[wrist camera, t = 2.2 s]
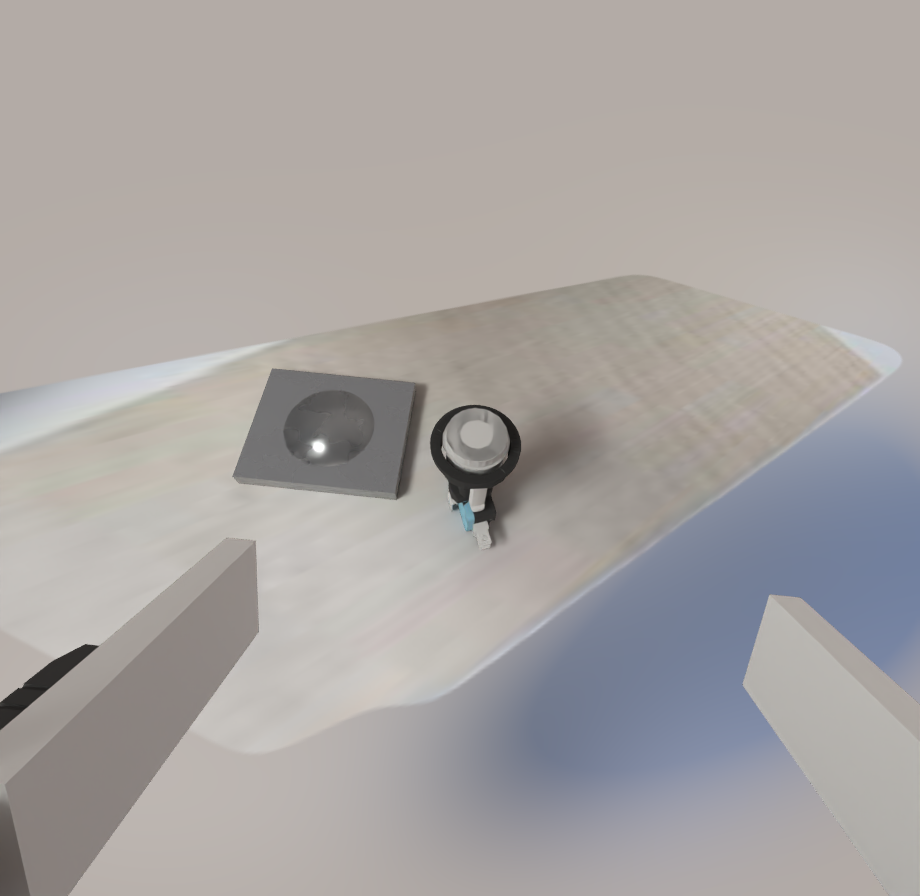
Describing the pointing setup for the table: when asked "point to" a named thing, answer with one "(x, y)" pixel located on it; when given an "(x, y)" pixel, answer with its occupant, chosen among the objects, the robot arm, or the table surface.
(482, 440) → the push button
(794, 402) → the table surface
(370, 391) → the flange plate
